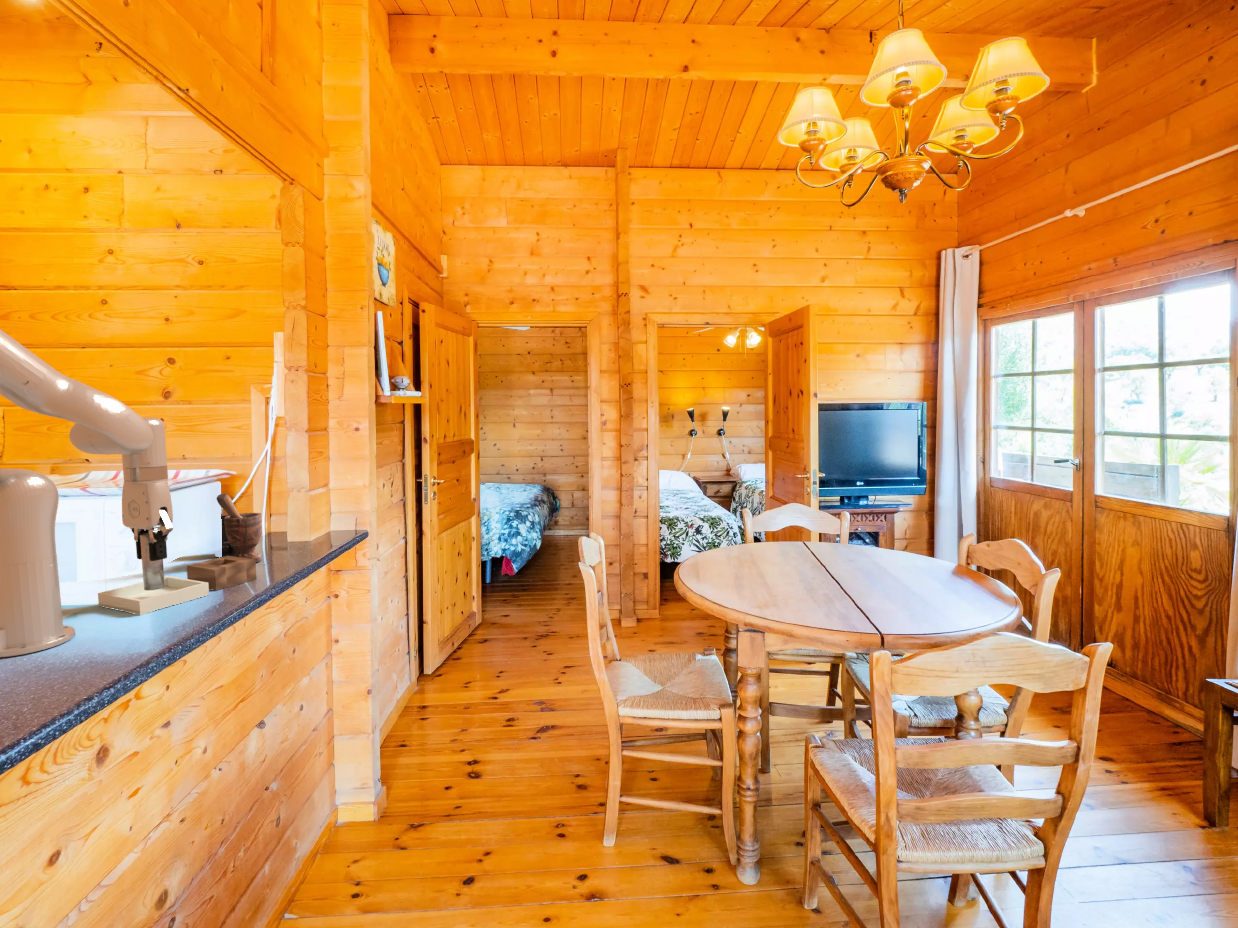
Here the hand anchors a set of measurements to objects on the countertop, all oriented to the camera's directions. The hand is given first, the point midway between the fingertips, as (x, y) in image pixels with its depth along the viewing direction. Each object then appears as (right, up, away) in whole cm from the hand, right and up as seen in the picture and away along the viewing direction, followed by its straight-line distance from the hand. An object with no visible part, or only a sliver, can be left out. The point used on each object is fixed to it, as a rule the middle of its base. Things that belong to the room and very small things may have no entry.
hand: (152, 557), depth 130 cm
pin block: (+6, -8, +15) cm, 18 cm away
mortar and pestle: (0, -7, +32) cm, 33 cm away
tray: (0, -10, +1) cm, 10 cm away
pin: (0, -7, +1) cm, 7 cm away
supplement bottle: (-11, -6, +42) cm, 43 cm away
